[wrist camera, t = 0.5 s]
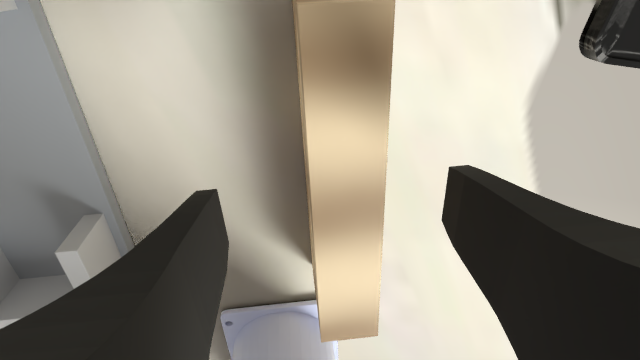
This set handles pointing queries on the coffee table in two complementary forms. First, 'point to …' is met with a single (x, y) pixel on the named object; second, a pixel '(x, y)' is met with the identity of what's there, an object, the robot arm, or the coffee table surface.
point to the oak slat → (345, 153)
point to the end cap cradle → (47, 174)
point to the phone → (613, 33)
